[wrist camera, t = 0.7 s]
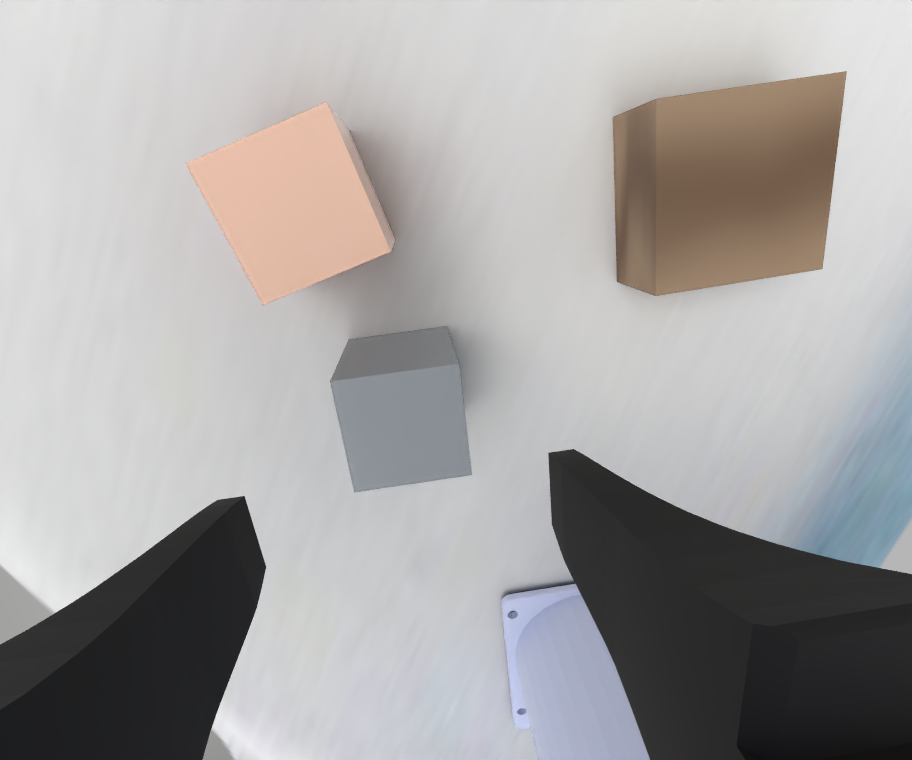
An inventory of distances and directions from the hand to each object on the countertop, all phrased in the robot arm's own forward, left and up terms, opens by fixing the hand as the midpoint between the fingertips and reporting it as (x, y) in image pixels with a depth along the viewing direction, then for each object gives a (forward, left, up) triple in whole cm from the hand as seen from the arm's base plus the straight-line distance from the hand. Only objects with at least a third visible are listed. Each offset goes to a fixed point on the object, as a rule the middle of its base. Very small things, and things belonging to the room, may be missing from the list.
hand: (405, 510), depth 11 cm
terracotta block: (+7, +2, -10) cm, 12 cm away
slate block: (0, 0, -10) cm, 10 cm away
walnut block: (+6, -12, -10) cm, 16 cm away
